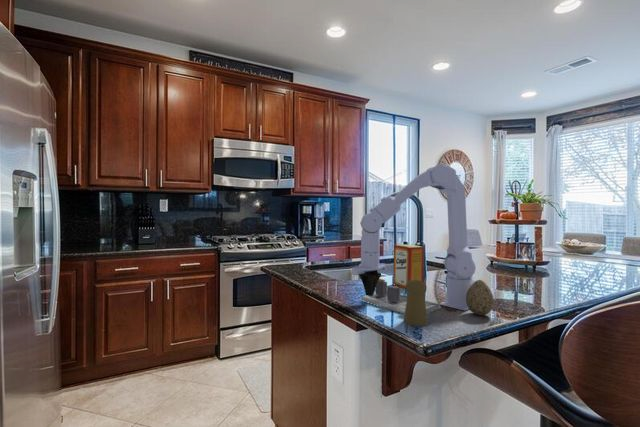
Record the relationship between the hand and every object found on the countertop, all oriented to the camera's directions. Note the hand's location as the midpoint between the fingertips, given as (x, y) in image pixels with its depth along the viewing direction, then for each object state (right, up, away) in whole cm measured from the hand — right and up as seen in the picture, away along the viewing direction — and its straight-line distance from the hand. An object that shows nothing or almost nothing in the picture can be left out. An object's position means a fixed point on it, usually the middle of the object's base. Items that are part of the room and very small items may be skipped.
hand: (369, 295), depth 105 cm
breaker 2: (+7, -1, -3) cm, 8 cm away
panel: (+9, -3, -1) cm, 9 cm away
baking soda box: (+18, -3, +24) cm, 31 cm away
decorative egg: (+30, -3, -10) cm, 31 cm away
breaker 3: (+4, -1, +4) cm, 6 cm away
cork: (+10, -3, -17) cm, 20 cm away
